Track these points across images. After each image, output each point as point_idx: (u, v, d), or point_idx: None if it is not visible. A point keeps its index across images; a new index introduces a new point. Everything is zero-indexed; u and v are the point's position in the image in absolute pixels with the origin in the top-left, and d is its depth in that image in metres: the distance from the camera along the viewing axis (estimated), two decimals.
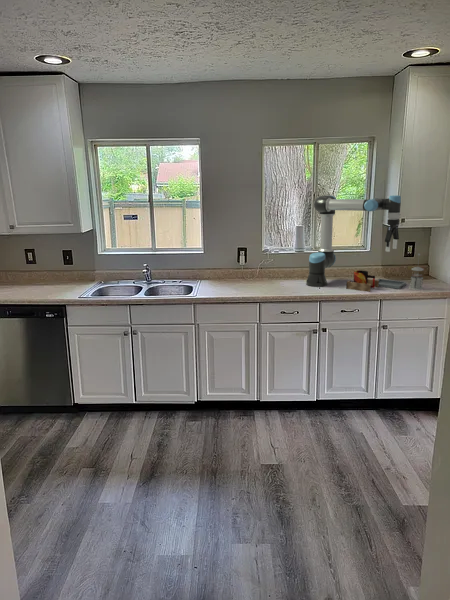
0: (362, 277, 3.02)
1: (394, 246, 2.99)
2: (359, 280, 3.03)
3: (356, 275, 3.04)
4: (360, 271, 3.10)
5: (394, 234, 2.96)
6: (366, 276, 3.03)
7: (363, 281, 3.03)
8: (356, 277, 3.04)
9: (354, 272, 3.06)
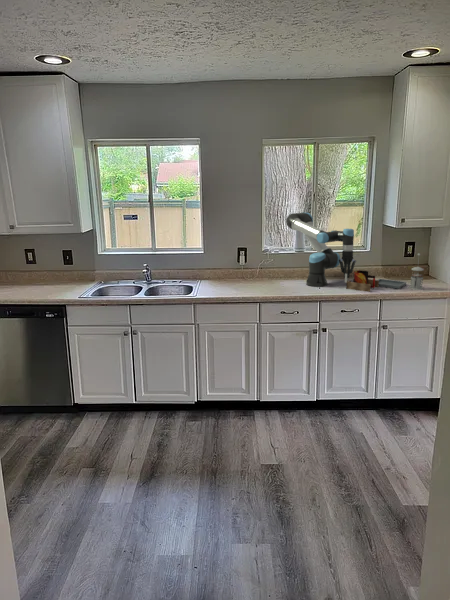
0: (362, 277, 3.02)
1: None
2: (359, 280, 3.03)
3: (356, 275, 3.04)
4: (360, 271, 3.10)
5: None
6: (366, 276, 3.03)
7: (363, 281, 3.03)
8: (356, 277, 3.04)
9: (354, 272, 3.05)
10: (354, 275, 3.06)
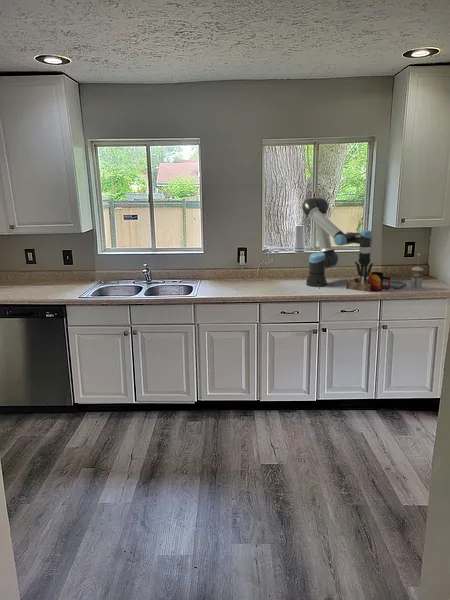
0: (377, 279, 2.95)
1: None
2: (374, 282, 2.96)
3: (371, 277, 2.97)
4: (375, 273, 3.04)
5: None
6: (381, 278, 2.96)
7: (378, 283, 2.96)
8: (371, 279, 2.97)
9: (369, 274, 2.99)
10: (369, 277, 3.00)
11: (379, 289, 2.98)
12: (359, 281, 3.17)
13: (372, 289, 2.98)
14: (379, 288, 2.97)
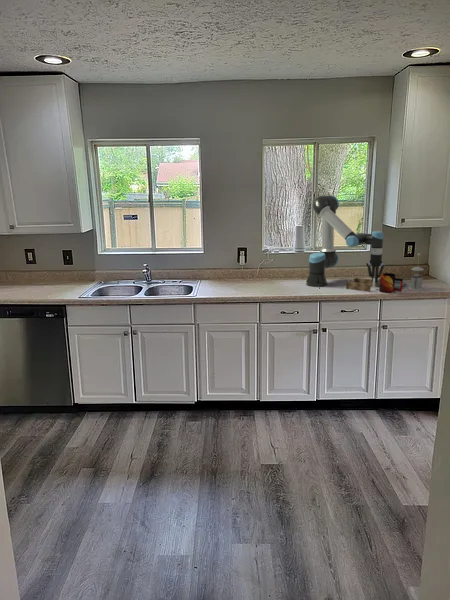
0: (389, 280, 2.90)
1: None
2: (386, 283, 2.91)
3: (383, 278, 2.92)
4: (386, 274, 2.99)
5: None
6: (393, 279, 2.91)
7: (391, 285, 2.91)
8: (383, 280, 2.92)
9: (381, 275, 2.94)
10: (380, 278, 2.95)
11: (391, 291, 2.93)
12: (359, 281, 3.17)
13: (384, 291, 2.93)
14: (391, 290, 2.92)
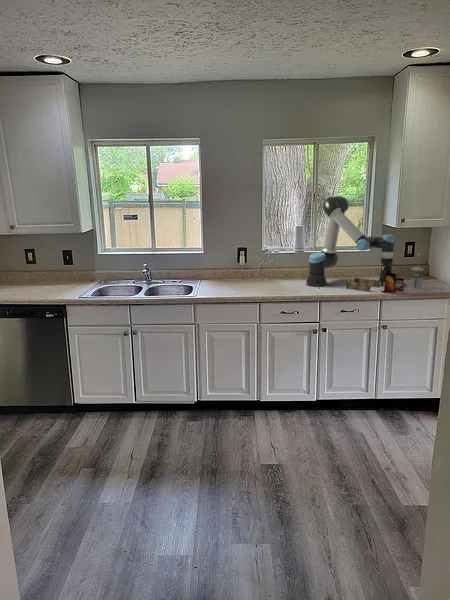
0: (390, 280, 2.91)
1: None
2: (387, 283, 2.92)
3: None
4: (387, 274, 2.99)
5: (387, 273, 2.98)
6: (394, 279, 2.91)
7: (392, 284, 2.92)
8: None
9: None
10: None
11: (392, 290, 2.93)
12: (359, 281, 3.17)
13: (385, 290, 2.94)
14: (392, 289, 2.93)
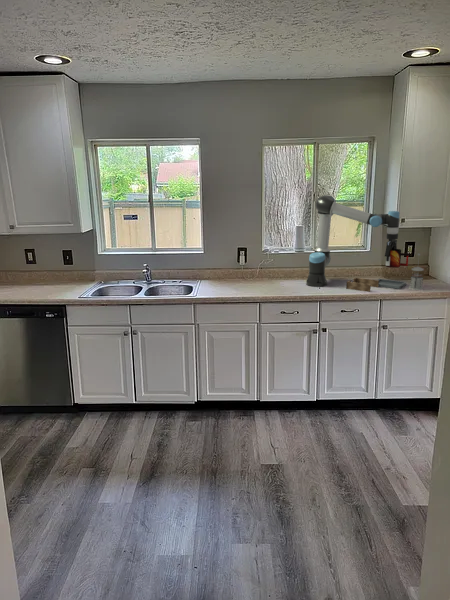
0: (396, 255, 3.01)
1: None
2: (393, 258, 3.02)
3: None
4: None
5: (392, 248, 3.09)
6: (400, 254, 3.02)
7: (397, 259, 3.02)
8: None
9: None
10: None
11: (397, 265, 3.04)
12: (359, 281, 3.17)
13: (390, 265, 3.04)
14: (397, 264, 3.03)
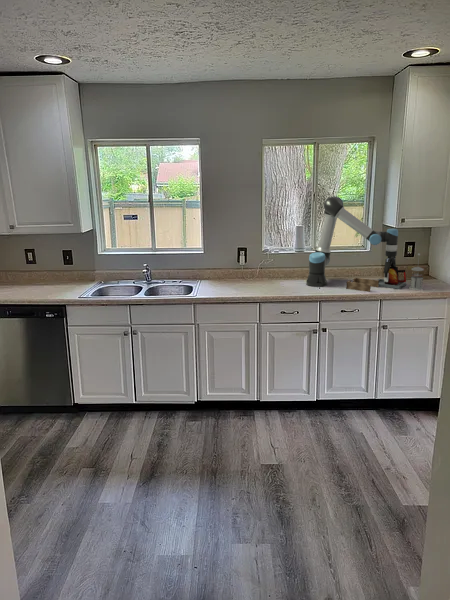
0: (393, 272, 3.07)
1: None
2: (390, 276, 3.07)
3: None
4: None
5: (392, 265, 3.14)
6: (397, 271, 3.07)
7: (395, 276, 3.07)
8: None
9: None
10: None
11: (396, 282, 3.08)
12: (359, 281, 3.17)
13: (389, 283, 3.09)
14: (396, 281, 3.08)
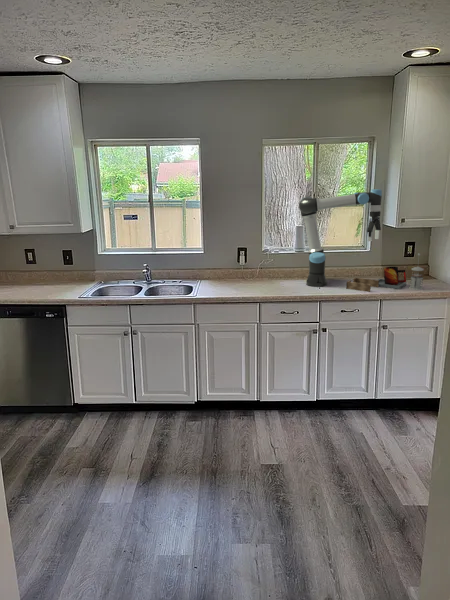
0: (393, 272, 3.07)
1: (376, 236, 3.23)
2: (390, 276, 3.07)
3: (387, 271, 3.08)
4: (389, 267, 3.15)
5: (376, 225, 3.19)
6: (397, 271, 3.07)
7: (394, 276, 3.07)
8: (387, 273, 3.09)
9: (384, 269, 3.10)
10: (384, 272, 3.11)
11: (396, 282, 3.08)
12: (359, 281, 3.17)
13: (389, 283, 3.09)
14: (396, 281, 3.08)
